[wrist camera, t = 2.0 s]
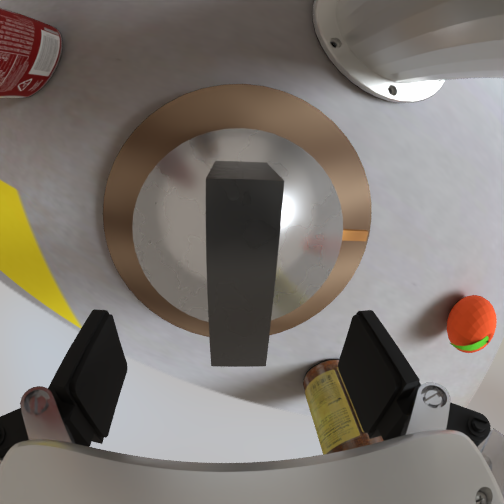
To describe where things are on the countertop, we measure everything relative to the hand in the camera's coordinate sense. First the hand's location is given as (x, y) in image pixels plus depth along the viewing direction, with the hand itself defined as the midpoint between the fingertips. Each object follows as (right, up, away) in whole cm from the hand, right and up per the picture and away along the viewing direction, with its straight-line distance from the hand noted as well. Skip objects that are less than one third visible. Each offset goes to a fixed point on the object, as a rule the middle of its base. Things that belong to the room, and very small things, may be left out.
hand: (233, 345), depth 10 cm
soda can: (-18, +20, +4) cm, 27 cm away
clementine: (+26, -4, +18) cm, 32 cm away
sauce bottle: (+10, -11, +20) cm, 24 cm away
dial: (0, +5, +9) cm, 10 cm away
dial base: (0, +6, +11) cm, 13 cm away
